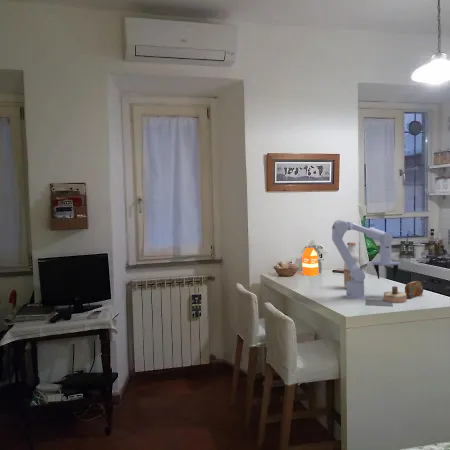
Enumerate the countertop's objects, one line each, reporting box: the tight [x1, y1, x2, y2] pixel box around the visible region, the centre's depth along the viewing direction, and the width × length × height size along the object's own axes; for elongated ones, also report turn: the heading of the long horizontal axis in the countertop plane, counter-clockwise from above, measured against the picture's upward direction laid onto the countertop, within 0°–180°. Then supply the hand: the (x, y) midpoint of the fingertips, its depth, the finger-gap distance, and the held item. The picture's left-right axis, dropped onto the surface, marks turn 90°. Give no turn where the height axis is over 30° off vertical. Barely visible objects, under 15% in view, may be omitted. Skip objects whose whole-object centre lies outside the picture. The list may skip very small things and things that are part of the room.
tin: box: [404, 280, 424, 299], centre depth 219 cm, size 15×3×8 cm, turn 126°
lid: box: [383, 286, 406, 298], centre depth 212 cm, size 11×11×4 cm
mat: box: [365, 298, 394, 308], centre depth 208 cm, size 13×13×1 cm
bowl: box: [383, 295, 408, 304], centre depth 213 cm, size 11×11×3 cm
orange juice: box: [301, 247, 319, 277], centre depth 299 cm, size 8×9×20 cm
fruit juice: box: [343, 242, 361, 290], centre depth 246 cm, size 9×9×28 cm
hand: (386, 278), depth 222 cm, fingers open, 7 cm apart
